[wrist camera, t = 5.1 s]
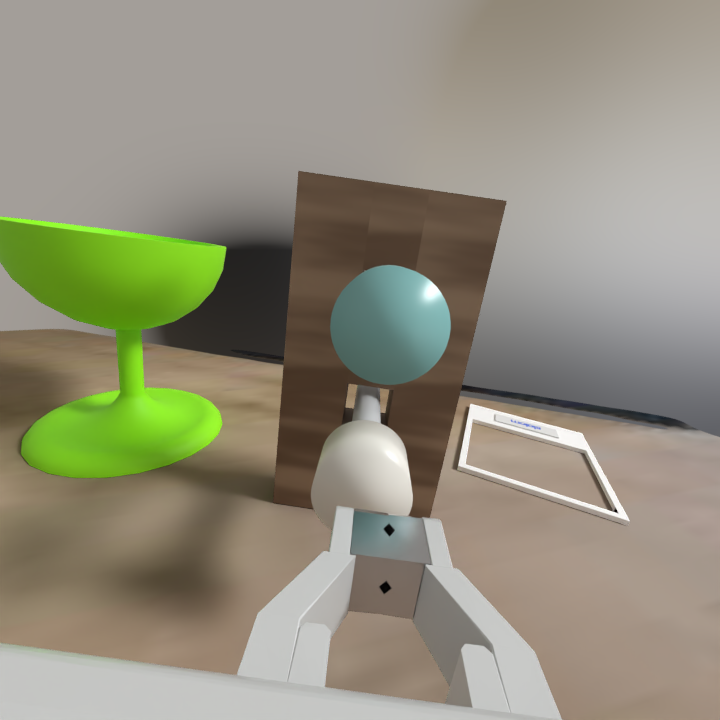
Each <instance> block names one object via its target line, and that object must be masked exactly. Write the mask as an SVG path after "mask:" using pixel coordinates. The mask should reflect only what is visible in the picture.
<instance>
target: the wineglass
mask: <svg viewBox="0 0 720 720" xmlns="http://www.w3.org/2000/svg"><path fill="white" fill-rule="evenodd" d="M225 253H226V247H224V246H219V245H214V244H208V243H201V242H195V241H188V240H182V239H175V238H168V237H161V236H154V235H147V234H139V233H132V232H125V231H117V230H109V229H102V228H94V227H86V226H78V225H69V224H61V223H53V222H45V221H36V220H28V219H19V218H18V219H17V218H9V217H0V263H1V264H2V265H3V267H4V268H5V270H6V271H7V272H8V274H9V275H10V277H11V278H12V279H13V280H14V281H15V282H17V283H18V284H19V285H20V286H21V287H23V288H24V289H25V290H26V291H27V292H29V293H30V294H31V295H32V296H33V297H35V298H36V299H37V300H38V301H39V302H41V303H43V304H45V305H47V306H49V307H51V308H53V309H54V310H56V311H59V312H60V313H62V314H64V315H66V316H68V317H70V318H72V319H74V320H77V321H80V322H84V323H88V324H92V325H96V326H100V327H104V328H108V329H116V341H117V355H118V368H119V382H120V390H116V391H109V392H105V393H100V394H95V395H91V396H88V397H84V398H81V399H78V400H75V401H72V402H69V403H67V404H65V405H63V406H61V407H58V408H56V409H54V410H52V411H50V412H49V413H48V414H46V415H45V416H43V417H42V418H40V419H39V420H37V421H36V422H35V423H34V424H33V425H32V427H31V428H30V429H29V430H28V432H27V433H26V434H25V436H24V437H23V439H22V445H21V455H22V456H23V458H24V459H25V460H26V461H27V463H28V464H29V465H30V466H32V467H35V468H37V469H39V470H41V471H44V472H46V473H48V474H54V475H60V476H66V477H72V478H108V477H115V476H122V475H129V474H136V473H141V472H145V471H149V470H152V469H156V468H160V467H164V466H167V465H170V464H172V463H175V462H177V461H179V460H182V459H184V458H186V457H189V456H191V455H193V454H194V453H196V452H198V451H199V450H201V449H202V448H204V447H205V446H207V445H208V444H209V443H210V442H211V441H212V440H213V439H214V438H215V437H216V436H217V435H218V434H219V431H220V429H221V426H222V419H221V415H220V412H219V411H218V409H217V408H216V407H215V406H214V405H213V404H212V403H211V402H210V401H208V400H206V399H205V398H203V397H201V396H199V395H196V394H193V393H190V392H186V391H181V390H175V389H168V388H144V375H143V356H142V338H141V337H142V336H141V329H148V328H152V327H156V326H159V325H163V324H167V323H170V322H173V321H176V320H178V319H179V318H181V317H182V316H184V315H186V314H187V313H189V312H191V311H192V310H194V309H195V308H197V307H198V306H199V305H200V304H201V303H202V302H203V301H204V300H205V299H206V297H207V296H208V295H209V294H210V293H211V292H212V291H213V289H214V287H215V285H216V283H217V280H218V279H219V277H220V275H221V273H222V270H223V265H224V259H225Z"/></svg>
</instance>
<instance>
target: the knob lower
mask: <svg viewBox="0 0 720 720" xmlns="http://www.w3.org/2000/svg"><path fill="white" fill-rule="evenodd" d="M311 502H312V505H313V508H314V511H315V513H316V514H317V516H318V518H319V519H320V520H321V521H322V522H323V523H324V524H325V525H326V526H327V527H328V528H330V529H331V530H332V527H333V521H334V515H335V509H336V507H337V506H342V507H349V508H353V509H354V508H357V509H364V510H370V511H376V512H383V513H389V514H397V515H406V516H408V515H409V513H410V511H411V507H412V502H413V493H412V486H411V480H410V473H409V467H408V460H407V454H406V449H405V446H404V444H403V442H402V440H401V439H400V437H399V436H398V435H397V434H396V433H395V432H394V431H393V430H392V429H390V428H389V427H387V426H385V425H383V424H381V419H380V388H376V387H369V386H363V385H358V386H357V392H356V398H355V405H354V412H353V418H352V422H348V423H346V424H343V425H341V426H340V427H338V428H337V429H335V430H334V431H333V432H332V433H331V434H330V435H329V436H328V438H327V439H326V441H325V443H324V446H323V449H322V452H321V456H320V459H319V463H318V466H317V470H316V473H315V477H314V480H313V484H312V488H311Z"/></svg>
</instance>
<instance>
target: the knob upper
mask: <svg viewBox="0 0 720 720" xmlns="http://www.w3.org/2000/svg"><path fill="white" fill-rule="evenodd" d="M450 330H451V321H450V313H449V309H448V306H447V303H446V301H445V299H444V297H443V295H442V294H441V292H440V291H439V289H438V288H437V287H436V286H435V285H434V284H433V283H432V282H431V281H430V280H429V279H427V278H426V277H425V276H423V275H421V274H420V273H418V272H416V271H413V270H410V269H407V268H404V267H400V266H396V265H382V266H376V267H373V268H370V269H368V270H366V271H364V272H362V273H361V274H359V275H358V276H357V277H356V278H355V279H353V280H352V281H351V282H350V283H349V284H348V285H347V286H346V287H345V288H344V290H343V291H342V292H341V294H340V295H339V297H338V298H337V301H336V303H335V305H334V308H333V311H332V315H331V323H330V331H331V338H332V343H333V345H334V348H335V351H336V353H337V354H338V356H339V358H340V359H341V361H342V362H343V363H344V364H345V366H346V367H347V368H348V369H349V370H351V371H352V372H353V373H354V374H356V375H357V376H359V377H361V378H363V379H365V380H367V381H370V382H373V383H377V384H384V385H396V384H402V383H406V382H409V381H412V380H414V379H417V378H419V377H420V376H422V375H424V374H425V373H426V372H428V371H429V370H430V369H431V368H432V367H433V366H434V365H435V364H436V363H437V362H438V360H439V359H440V358H441V356H442V354H443V353H444V351H445V349H446V346H447V344H448V340H449V336H450Z"/></svg>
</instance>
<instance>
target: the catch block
mask: <svg viewBox="0 0 720 720" xmlns="http://www.w3.org/2000/svg"><path fill="white" fill-rule="evenodd" d="M505 205H506V201H503V200H495V199H489V198H482V197H475V196H468V195H461V194H454V193H447V192H440V191H433V190H426V189H420V188H413V187H405V186H399V185H391V184H385V183H378V182H371V181H364V180H357V179H350V178H343V177H336V176H329V175H323V174H315V173H309V172H302V171H299V172H298V186H297V199H296V212H295V225H294V238H293V251H292V264H291V277H290V291H289V303H288V316H287V330H286V342H285V355H284V368H283V381H282V394H281V407H280V420H279V433H278V446H277V459H276V472H275V485H274V498H273V503H278V504H285V505H292V506H298V507H305V508H312V509H314V508H313V505H312V502H311V488H312V484H313V480H314V477H315V473H316V470H317V466H318V463H319V459H320V456H321V452H322V449H323V446H324V443H325V441H326V439H327V438H328V436H329V435H330V434H331V433H332V432H333V431H334V430H335V429H337V428H338V427H340V426H341V425H343V424H346V423H348V422H352V418H353V412H354V409H352V408H346V407H345V406H346V398H347V391H348V384H356V385H363V386H369V387H376V388H383V389H390V390H389V396H388V401H387V407H386V413H380V419H381V424H383V425H385V426H387V427H389V428H390V429H392V430H393V431H394V432H395V433H396V434H397V435H398V436H399V437H400V439H401V440H402V442H403V444H404V446H405V449H406V454H407V460H408V467H409V473H410V480H411V486H412V493H413V502H412V507H411V511H410V513H409V515H408V516H414V517H421V518H422V517H425V518H430V514H431V510H432V506H433V502H434V498H435V494H436V490H437V486H438V481H439V477H440V473H441V469H442V465H443V461H444V457H445V453H446V449H447V444H448V440H449V436H450V432H451V428H452V424H453V420H454V416H455V411H456V407H457V403H458V399H459V395H460V391H461V387H462V382H463V378H464V374H465V370H466V366H467V362H468V358H469V353H470V349H471V346H472V341H473V337H474V333H475V329H476V324H477V321H478V317H479V313H480V308H481V304H482V300H483V296H484V292H485V287H486V283H487V279H488V275H489V271H490V267H491V263H492V259H493V255H494V251H495V247H496V243H497V238H498V234H499V230H500V226H501V222H502V218H503V214H504V210H505ZM382 265H396V266H400V267H404V268H407V269H410V270H413V271H416V272H418V273H420V274H421V275H423V276H425V277H426V278H427V279H429V280H430V281H431V282H432V283H433V284H434V285H435V286H436V287H437V288H438V289H439V291H440V292H441V294H442V295H443V297H444V299H445V301H446V303H447V306H448V309H449V313H450V321H451V330H450V336H449V340H448V344H447V346H446V349H445V351H444V353H443V354H442V356H441V358H440V359H439V360H438V362H437V363H436V364H435V365H434V366H433V367H432V368H431V369H430V370H429V371H428V372H426V373H425V374H424V375H422V376H420V377H419V378H417V379H414V380H412V381H409V382H406V383H402V384H396V385H384V384H377V383H373V382H370V381H367V380H365V379H363V378H361V377H359V376H357V375H356V374H354V373H353V372H352V371H351V370H349V369H348V368H347V367H346V366H345V364H344V363H343V362H342V361H341V359H340V358H339V356H338V354H337V353H336V351H335V348H334V345H333V343H332V338H331V331H330V323H331V315H332V311H333V308H334V305H335V303H336V301H337V298H338V297H339V295H340V294H341V292H342V291H343V290H344V288H345V287H346V286H347V285H348V284H349V283H350V282H351V281H352V280H353V279H355V278H356V277H357V276H358V275H359V274H361V273H362V272H364V270H368V269H370V268H373V267H376V266H382Z"/></svg>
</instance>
